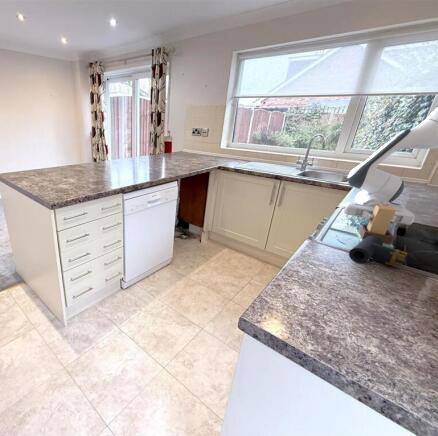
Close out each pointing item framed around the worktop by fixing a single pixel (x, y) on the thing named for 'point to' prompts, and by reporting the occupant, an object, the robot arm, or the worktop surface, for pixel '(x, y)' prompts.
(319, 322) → the worktop surface
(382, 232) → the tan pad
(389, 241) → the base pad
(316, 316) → the worktop surface
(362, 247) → the pipe connector
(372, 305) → the worktop surface
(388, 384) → the worktop surface
